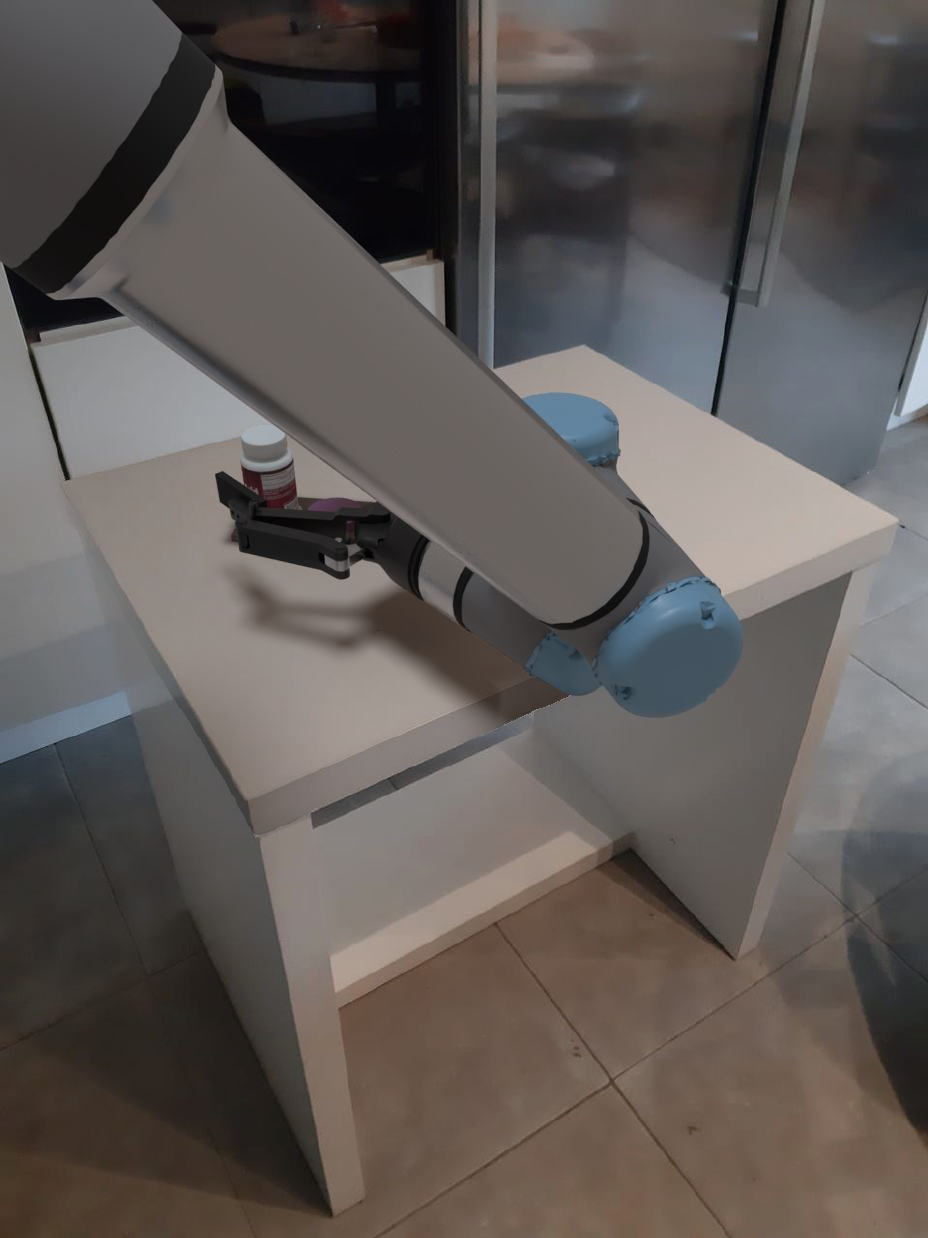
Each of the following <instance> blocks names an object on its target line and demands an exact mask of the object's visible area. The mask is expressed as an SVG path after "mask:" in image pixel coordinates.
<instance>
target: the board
mask: <svg viewBox="0 0 928 1238" xmlns="http://www.w3.org/2000/svg"><path fill="white" fill-rule="evenodd" d="M297 498H298V506H299V510H311V511H327V512H336V511H337V510H338V509H339V508H340V507H349V508H360V507H363V506H365V505H368V504H372V503H375V502H376V501H364V500H353V499H350V498H347V497H338V496H337V497H328V498H320V497H319V498H318V497H317V498H316V497H303V496H297ZM347 522H348V534H349V537H350V538H351V539H355V532H354V521H347ZM230 538H231V541H233V542H238V540H237V534H236V528H235V527H234V530H233V531H232V533H231V535H230Z"/></svg>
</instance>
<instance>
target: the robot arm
mask: <svg viewBox="0 0 928 1238" xmlns="http://www.w3.org/2000/svg"><path fill="white" fill-rule="evenodd" d="M225 90H226V89H225V83H224V74H223V72H222V70H221V69H220V68H219V67H218V66H217V64H215V63H214V62H213V61H212V59H211V58H209V56H208V55H206V54H205V53H204V52H203V51H202V50H201V49H200V48H199V46H198V45H196V44H195V43H194V42H193V41H192V40H191V39H190V38H189V37H188V36H187V35H186V34H185V33H184V32H183V31H181V29H180V28H178V26H177V25H176V24H175V23H174V22H173V20H171V19H170V18H169V16H167V14H165V12H164V11H163V10H162V9H161V8H160V7H159V6H158V4H156V3H155V2H154V0H0V263H1V264H3V265H4V266H6V267H7V268H8V269H10V270H11V271H12V272H14V273H15V274H16V275H17V276H19V277H21V278H22V279H23V280H25V281H26V282H27V283H29V284H30V285H32V286H34V287H35V288H36V289H38V290H39V291H40V292H42V293H44V294H45V295H46V296H47V297H49V298H51V299H52V300H54V301H63V300H75V299H86V298H98V299H101V300H103V301H104V302H106V303H108V305H110V306H111V307H113V308H114V309H116V311H118V312H120V313H121V314H122V315H124V317H126V318H127V319H129V320H130V321H132V322H133V323H135V325H137V326H139V327H140V328H141V329H143V330H144V331H145V332H146V333H148V334H149V335H150V336H152V337H154V338H155V339H156V340H158V341H159V342H160V343H161V344H163V345H164V346H166V347H167V348H168V349H170V350H171V351H172V352H173V353H175V354H176V355H177V356H179V357H181V358H182V359H183V360H184V361H186V362H187V363H189V364H190V365H192V366H193V367H194V368H195V369H197V371H199V372H201V373H202V374H204V375H205V376H206V377H208V378H209V379H210V380H212V381H213V382H214V383H216V384H217V385H219V387H221V388H223V389H224V390H225V391H227V392H228V393H230V394H231V395H232V396H233V397H234V398H236V399H238V400H239V401H240V402H241V403H243V404H245V406H247V407H249V408H250V409H251V410H252V411H254V412H255V413H257V414H258V415H259V416H261V417H262V418H264V419H265V420H266V421H268V422H269V423H270V424H271V425H274V426H276V427H277V428H278V429H280V430H281V431H282V432H284V433H285V434H286V436H288V437H289V438H290V439H292V440H293V441H295V442H296V443H297V444H299V445H300V446H302V447H303V449H305V450H307V451H308V452H309V453H311V454H312V455H314V456H315V457H316V458H318V459H319V460H320V461H322V462H323V463H324V464H326V465H327V466H329V467H330V468H331V469H333V470H334V471H336V472H337V473H338V474H339V475H341V476H342V477H343V478H345V479H346V480H347V481H349V482H350V483H351V484H353V485H354V486H355V487H357V488H358V489H360V490H361V491H362V492H364V493H365V494H366V495H368V496H369V497H371V498H372V499H373V500H375V501H374V502H375V503H372V504H368V505H365V506H363V507H360V508H349V507H340V508H339V509H338V510H337V511H336V512H327V511H311V510H296V509H281V508H268V507H267V500H265V499H264V498H262V497H261V496H259V495H258V494H256V493H255V492H253V491H252V490H250V489H249V488H247V487H246V486H244V483H241V482H240V481H239V480H237V479H236V478H235V477H233V476H231V475H229V474H228V473H227V472H225V471H224V470H221V471H218V472H215V473H214V477H215V483H216V489H217V494H218V500H219V504H222V505H223V506H224V507H226V508H227V509H229V514H230V517H231V519H232V520H233V521H235V522H234V529H235V528H236V534H237V540H238V541H237V547H238V550H239V552H240V553H243V554H248V555H251V556H256V557H260V558H265V559H270V560H272V561H273V560H274V561H278V562H283V563H287V564H291V565H296V566H300V567H304V568H309V569H312V570H313V569H314V570H318V571H322V572H323V573H325V574H327V575H329V576H331V577H333V578H335V579H336V580H341V581H344V580H346V579H349V578H350V576H351V569H350V567H352V566H353V565H356V564H357V563H359V562H360V561H362V560H363V561H365V562H370V563H374V564H377V565H378V566H379V567H380V568H381V569H382V570H383V571H384V573H385V574H386V575H387V576H388V578H389V579H390V580H391V581H392V582H393V583H394V584H396V585H398V586H399V587H401V588H402V589H403V590H405V591H407V592H408V593H410V594H412V595H413V596H414V597H416V598H417V599H418V600H421V601H424V602H425V603H426V604H427V605H428V606H430V607H432V608H433V609H435V610H436V611H438V612H439V613H441V614H442V615H444V616H445V617H446V618H448V619H450V620H451V621H453V622H454V623H455V624H457V625H458V626H460V627H462V628H463V629H465V630H466V631H467V632H468V633H469V632H470V633H471V634H473V635H475V636H476V637H477V638H479V639H480V640H482V641H484V642H485V643H486V644H488V645H489V646H490V647H492V648H494V649H495V650H496V651H498V652H499V653H501V654H502V655H504V656H505V657H506V658H508V659H509V660H511V661H512V662H514V663H515V664H517V665H518V666H519V667H521V668H522V670H523V669H524V670H525V673H526V674H528V676H529V677H534V678H536V679H538V680H540V681H542V682H543V683H546V684H547V685H549V686H550V687H553V688H555V689H556V690H558V691H560V692H562V693H563V694H566V695H569V696H573V697H581V696H587V695H589V694H591V693H594V692H595V691H597V690H598V689H599V688H601V687H604V688H605V690H606V691H607V692H608V694H609V695H610V696H611V698H612V699H613V700H614V701H615V703H617V705H618V706H619V707H621V708H622V709H623V710H625V711H627V712H628V713H630V714H632V715H635V716H636V717H637V716H638V717H641V718H651V719H661V718H662V719H663V718H669V717H673V716H678V715H681V714H684V713H686V712H688V711H691V710H692V709H695V708H697V707H698V706H699V705H700V706H701V704H703V703H705V702H706V701H707V700H708V698H709V697H710V696H711V695H712V694H715V692H716V691H717V690H718V689H719V688H722V687H723V686H724V685H725V684H726V683H727V682H728V680H729V679H730V678H731V676H732V675H733V674H734V672H735V671H736V668H737V666H738V664H739V662H740V659H741V656H742V653H743V647H744V632H743V626H742V623H741V621H740V619H739V616H738V615H737V613H736V612H735V611H734V609H733V608H732V606H731V605H730V604H729V603H728V601H727V600H726V598H725V597H724V596H723V595H722V590H721V588H720V587H719V586H718V585H717V583H716V582H714V581H712V579H711V578H709V577H708V576H706V575H705V573H703V571H702V570H701V569H700V568H699V567H698V565H697V564H696V563H695V562H694V561H693V560H692V559H691V557H690V556H689V555H688V554H687V553H686V552H685V551H684V550H683V548H682V547H681V546H680V545H679V544H678V542H676V540H674V538H673V537H672V536H671V535H670V533H668V531H666V530H665V529H664V527H663V526H662V525H661V524H660V523H659V522H658V520H657V518H655V515H654V514H652V512H651V511H650V509H649V508H648V507H647V506H646V505H645V504H644V503H643V501H642V500H641V499H640V498H639V497H638V495H637V494H636V493H635V491H633V489H632V488H631V487H630V486H629V485H628V484H627V483H626V482H625V481H624V480H623V478H622V477H621V476H620V475H619V473H618V470H617V464H618V460H619V457H620V456H621V451H622V450H621V448H620V426H619V425H620V424H619V420H618V418H617V415H616V414H615V412H613V410H612V409H611V408H610V407H608V405H606V404H605V403H603V402H601V401H600V400H598V399H595V398H593V397H590V396H586V395H583V394H577V393H570V392H557V391H556V392H546V393H538V394H532V395H527V396H525V397H520V396H519V395H518V394H517V393H516V392H515V391H514V390H513V389H512V388H511V387H510V386H509V385H508V384H507V383H506V382H505V381H504V380H502V378H500V376H498V375H497V374H496V373H495V372H494V371H493V370H492V369H491V368H490V367H489V366H488V365H486V363H485V362H483V360H481V359H480V358H479V357H478V356H477V354H475V353H474V352H473V350H471V349H470V348H469V347H468V346H467V345H466V344H465V343H464V342H463V341H462V340H460V338H458V337H457V335H455V334H454V333H453V332H452V331H451V330H450V329H449V328H447V326H446V325H445V324H444V323H442V322H441V321H440V320H439V319H438V318H437V317H436V315H434V314H433V313H432V312H431V311H430V310H429V309H427V307H426V306H424V304H422V302H420V301H419V300H418V298H416V297H415V296H414V295H413V294H412V293H411V292H410V291H409V290H408V289H406V288H405V287H404V286H403V284H402V283H400V282H399V281H398V279H396V277H394V275H392V274H391V273H390V272H389V271H388V270H387V269H386V268H385V267H384V266H383V265H382V264H381V263H379V262H378V260H376V258H374V257H373V256H372V255H371V254H370V253H369V252H368V251H367V250H366V249H365V248H364V247H363V246H362V245H361V244H359V243H358V242H357V241H356V240H355V239H354V238H353V237H352V235H350V234H349V233H348V232H347V231H345V229H343V227H342V226H341V225H339V224H338V223H337V222H336V221H335V220H334V219H333V218H332V217H331V216H330V215H329V214H328V213H327V212H326V211H325V210H324V209H323V208H321V206H319V205H318V204H317V202H315V201H314V200H313V199H312V198H311V197H310V196H309V195H308V194H307V193H306V192H305V191H303V189H302V188H301V187H300V186H299V185H297V184H296V183H295V181H293V180H292V179H291V178H290V177H289V176H288V175H287V174H286V173H285V172H284V171H282V169H280V168H279V166H277V164H275V163H274V162H273V161H272V160H271V159H270V158H269V157H268V156H267V155H266V154H265V153H263V151H262V150H261V149H260V148H258V147H257V146H256V144H254V143H253V142H252V141H251V140H250V139H249V138H248V137H247V136H245V134H244V133H243V132H242V131H241V130H239V129H238V128H237V127H236V125H234V124H233V123H232V121H231V119H230V117H229V113H228V107H227V99H226V91H225ZM347 521H354V532H355V539H351V538H350V537H349V534H348V522H347Z"/></svg>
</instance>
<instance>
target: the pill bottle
mask: <svg viewBox="0 0 928 1238" xmlns="http://www.w3.org/2000/svg"><path fill="white" fill-rule="evenodd" d="M240 441H241V449H242V454H241V455H240V459H239V460H240V462H239V463H240V469H241V476H242V481H243V485H244V486H246V487H247V488H249V489H250V490H252V491H253V492H255V493H256V494H258V495H259V496H261V497H262V498H264V499H265V500H267V507H268V508H281V509H296V510H299V506H298V498H297V497H298V491H297V489H298V488H297V483H296V482H297V481H296V480H297V479H296V471H295V462H294V455H293V452H292V450H291V449H290V448H289V447H288V438H287V434H285V433H284V432H282V431H281V430H280V429H278V428H277V427H276V426H274V425H273V424H258V425H254V426H250V427H249V428H247V429H245V430H244V431H242V433H241V434H240Z"/></svg>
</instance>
